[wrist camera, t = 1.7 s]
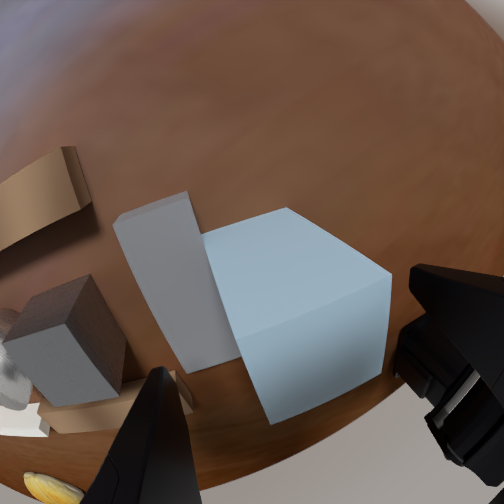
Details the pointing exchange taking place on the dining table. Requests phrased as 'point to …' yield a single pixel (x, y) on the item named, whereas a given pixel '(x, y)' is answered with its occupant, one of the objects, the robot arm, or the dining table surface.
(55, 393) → the block
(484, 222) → the dining table surface
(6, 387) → the silver rounded piece
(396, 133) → the dining table surface
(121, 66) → the dining table surface
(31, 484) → the bread roll
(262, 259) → the light blue block
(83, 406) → the slot rails
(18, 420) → the white bevelled strip
